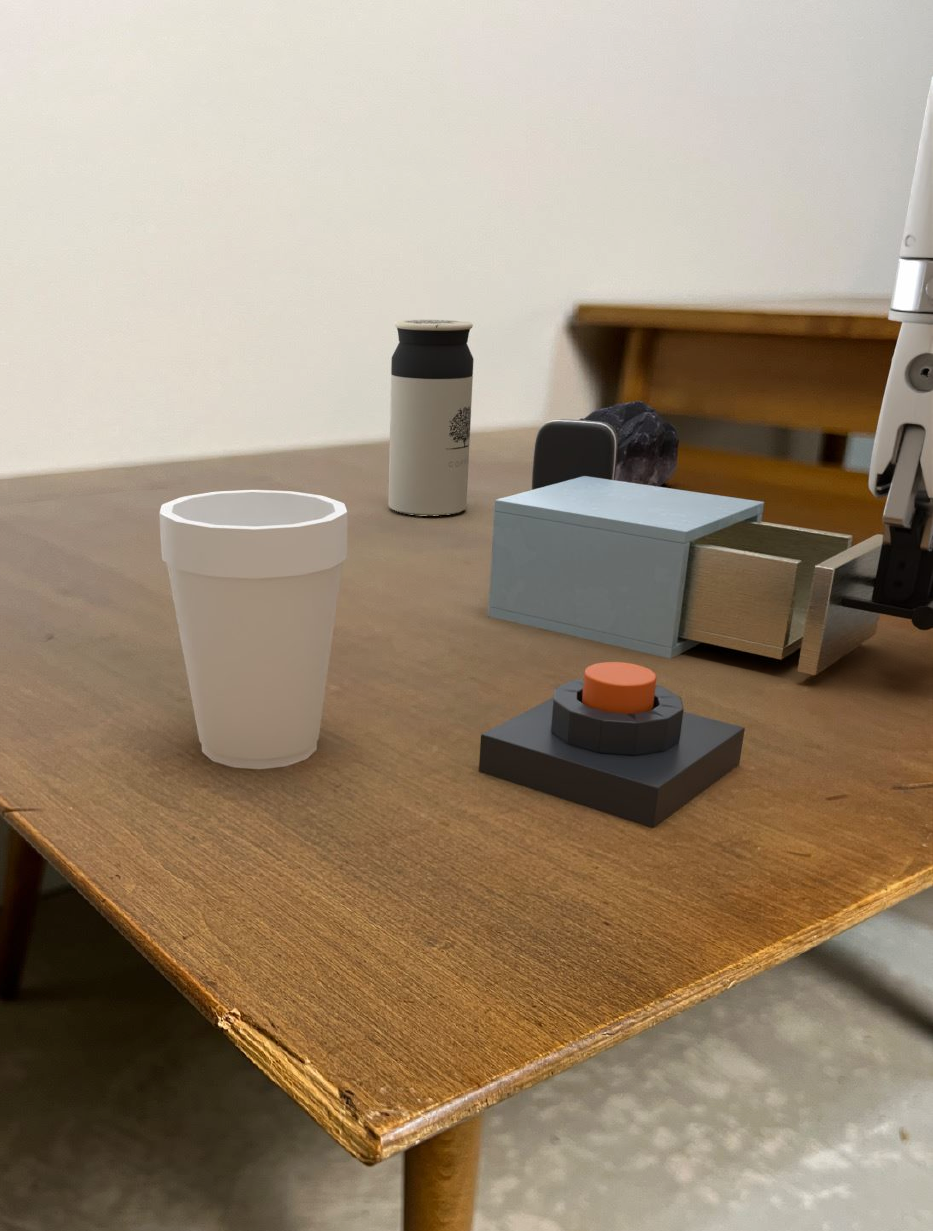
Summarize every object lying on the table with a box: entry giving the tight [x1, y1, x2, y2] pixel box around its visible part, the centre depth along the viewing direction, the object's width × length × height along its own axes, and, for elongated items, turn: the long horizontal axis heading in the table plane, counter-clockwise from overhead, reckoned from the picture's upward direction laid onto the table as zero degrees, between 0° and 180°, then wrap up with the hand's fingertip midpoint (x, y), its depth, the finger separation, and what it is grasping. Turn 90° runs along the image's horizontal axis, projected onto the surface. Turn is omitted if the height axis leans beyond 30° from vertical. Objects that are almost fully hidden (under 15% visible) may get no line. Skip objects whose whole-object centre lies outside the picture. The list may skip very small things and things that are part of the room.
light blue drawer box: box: [487, 476, 765, 659], centre depth 87 cm, size 15×13×9 cm
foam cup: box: [158, 489, 348, 770], centre depth 63 cm, size 10×9×13 cm
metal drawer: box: [678, 519, 933, 676], centre depth 79 cm, size 19×11×7 cm, turn 50°
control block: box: [478, 678, 746, 829], centre depth 62 cm, size 10×10×4 cm
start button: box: [582, 661, 657, 714], centre depth 61 cm, size 4×4×2 cm
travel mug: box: [387, 319, 475, 516], centre depth 119 cm, size 8×8×18 cm
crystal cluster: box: [578, 400, 680, 487], centre depth 135 cm, size 13×14×10 cm
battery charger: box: [531, 418, 618, 490], centre depth 104 cm, size 7×4×11 cm, turn 70°
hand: (900, 607), depth 75 cm, fingers closed
